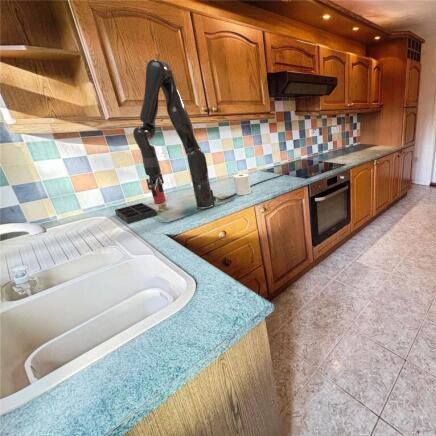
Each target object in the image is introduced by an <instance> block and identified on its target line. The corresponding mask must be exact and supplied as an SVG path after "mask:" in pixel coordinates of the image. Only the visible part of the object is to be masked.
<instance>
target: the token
mask: <svg viewBox="0 0 436 436" xmlns="http://www.w3.org/2000/svg"><path fill="white" fill-rule="evenodd" d="M157 207H158V211H159V212H165V211H167V210H168V205H167V203H166V202H163V203H157Z"/></svg>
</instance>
